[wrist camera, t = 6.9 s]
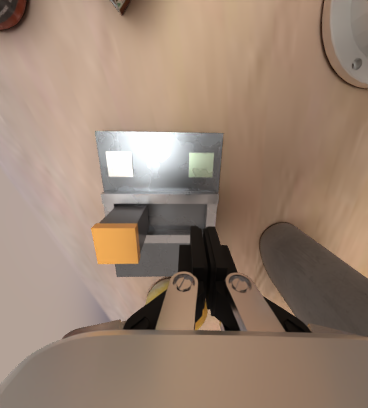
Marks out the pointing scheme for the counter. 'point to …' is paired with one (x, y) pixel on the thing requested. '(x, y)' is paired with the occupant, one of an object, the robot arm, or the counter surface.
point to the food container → (120, 5)
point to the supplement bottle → (11, 12)
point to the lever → (121, 234)
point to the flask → (315, 280)
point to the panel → (161, 189)
